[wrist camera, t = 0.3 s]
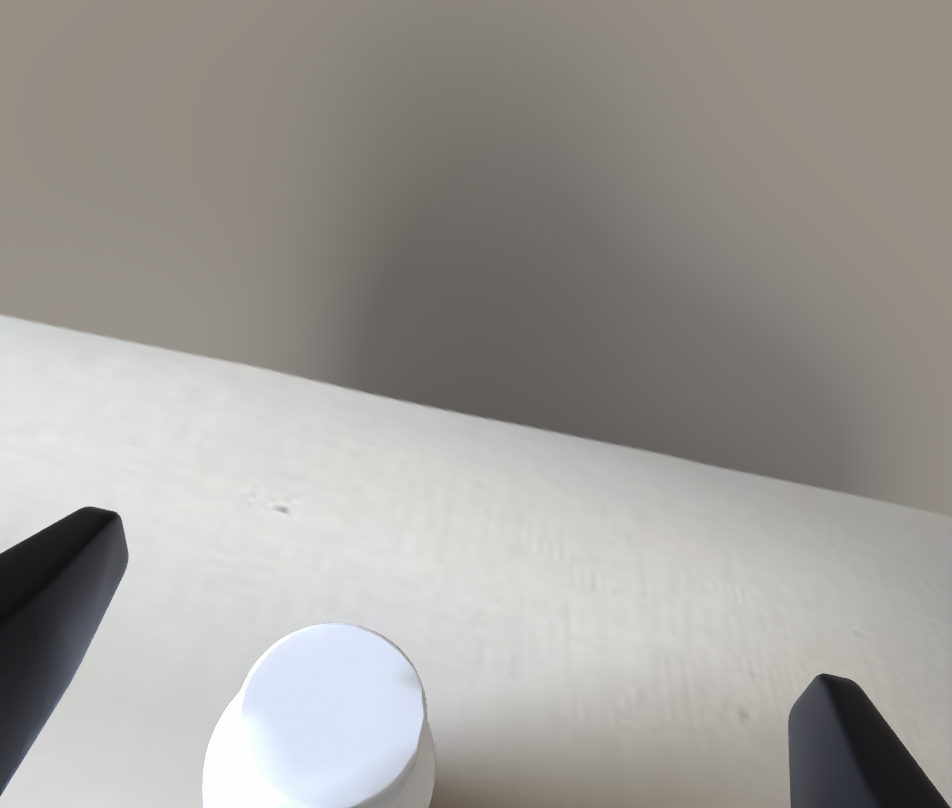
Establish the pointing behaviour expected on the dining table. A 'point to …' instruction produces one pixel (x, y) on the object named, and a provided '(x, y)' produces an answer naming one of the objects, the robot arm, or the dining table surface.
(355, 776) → the pill bottle
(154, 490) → the dining table surface
